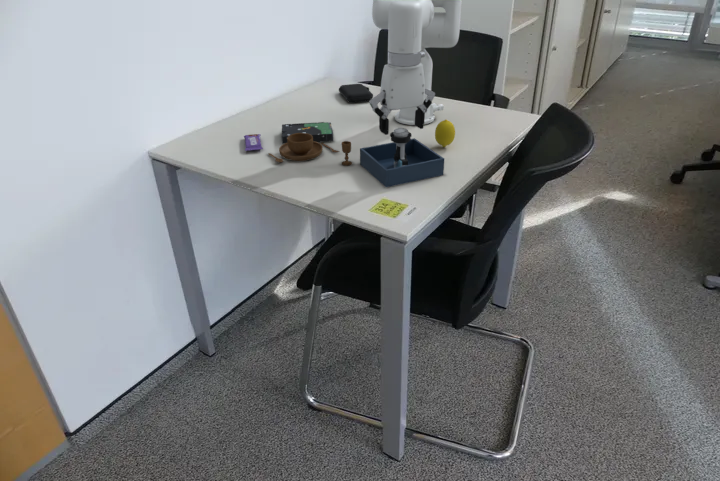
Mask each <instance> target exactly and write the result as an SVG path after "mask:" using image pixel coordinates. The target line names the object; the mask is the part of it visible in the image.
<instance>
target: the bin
mask: <svg viewBox="0 0 720 481" xmlns="http://www.w3.org/2000/svg"><path fill="white" fill-rule="evenodd" d="M405 153H406V159H407V160H408V165H406V166H401V167H396V168H394V154H396V143H394V142H393V141H391V142H386V143H382V144H376V145H372V146H366V147H361V148H359V165H360V166H361V167H362V168H363V169H364V170H366V171H367V172H368V173H369V174H370V175H371V176H372V177H374V178H375V179H376V181H378V182H379V183H380V184H382V185H383V186H384V188H390V187H395V186H400V185H404V184H409V183H413V182H417V181H423V180H428V179H431V178H436V177H440V176H441V177H442V176H444V172H445V171H444V169H445V157H443V156H442V155H440V154H439V153H438V152H435V151H434V150H432V149H431V148H430V147H428V146H427V145H426V144H424V143H422V142H421V141H419V140H418V139H416V138H415V137H413V138H411V139H410V141H409V142H408V143H406V144H405Z"/></svg>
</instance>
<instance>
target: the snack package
mask: <svg viewBox="0 0 720 481" xmlns="http://www.w3.org/2000/svg"><path fill="white" fill-rule="evenodd" d="M243 138H244V143H245V144H244V145H245V149H244V151H246V152H247V151H248V152H249V151H258V150H263V149H264V148H263V147H262V142H261V134H260V133H254V134H245V135H243Z"/></svg>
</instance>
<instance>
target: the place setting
mask: <svg viewBox="0 0 720 481" xmlns="http://www.w3.org/2000/svg"><path fill="white" fill-rule="evenodd" d="M287 142H288V143H285V144H281V145H280V146H279V148H278V152H279V154H280V156H281V157H282V158H281V157H280V158H279V157H277V156H275V155H274V154H272V153H270V152H268V155H269V156H270V157H272V158H273V159H274V160H275V162H276V163H283V162H284V159H286V160H289V161H294V162H307V161H311V160H313V159H316V158H318V157H320V155H321V154H322V153H323V150H324V148H323V146H324V147H326V148H328V149H329V150H331V152H332V153H340V152H341V151H342V153H343V154H344V155H345V156H344V161H341V166H345V167H346V166H347V167H349V166H352V165H353V162H352V161H350V160H349V158H350V157H349V153H351V151H352V142H351V141H349V140H343V141H342V142H341V151H340V150H336V149H334V148H332V147H330V146H329V145H327V144H326V143H324V142H319V143H318V142H315V141H313V136H312V135H310V134H307V133H295V134H292V135H290V136H288V137H287ZM283 158H284V159H283Z"/></svg>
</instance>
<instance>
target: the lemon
mask: <svg viewBox="0 0 720 481" xmlns="http://www.w3.org/2000/svg"><path fill="white" fill-rule="evenodd" d="M434 138H435V141H436V143H437V144H438V145H440V146H441V147H442V148H446V147H447V146H450V145H451V144H452V143H453V142H454V140H455V138H456V128H455V125H454V123H453V122H451V120H448V119H444V120H442V121H440V122H438V124H437V125H436V127H435V130H434Z"/></svg>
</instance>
